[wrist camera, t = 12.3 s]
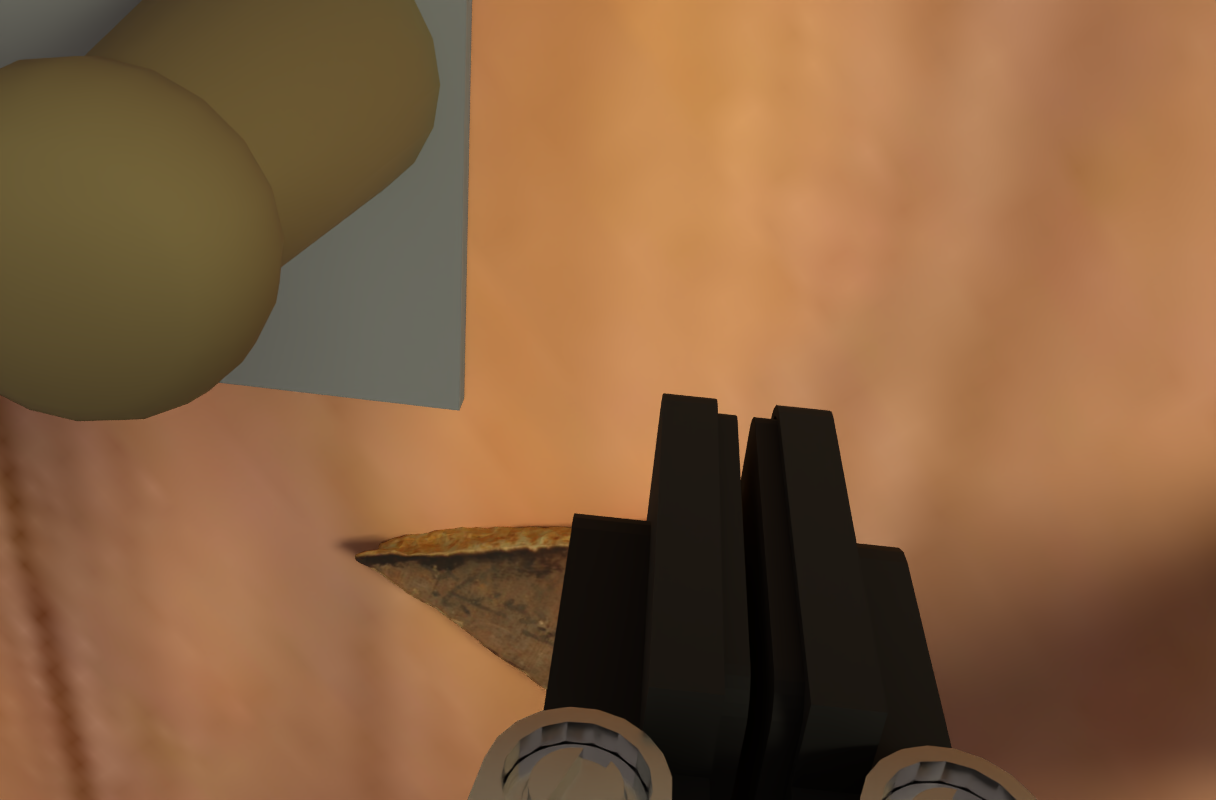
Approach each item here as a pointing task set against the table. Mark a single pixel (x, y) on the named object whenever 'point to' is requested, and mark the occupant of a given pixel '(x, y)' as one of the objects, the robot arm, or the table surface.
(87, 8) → the slate mat
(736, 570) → the robot arm
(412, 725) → the table surface
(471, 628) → the shard
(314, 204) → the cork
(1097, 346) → the table surface
